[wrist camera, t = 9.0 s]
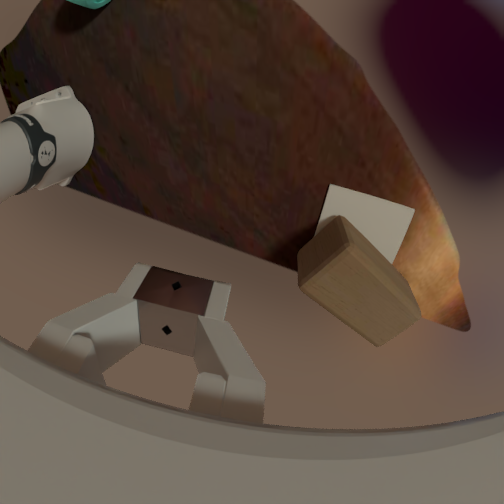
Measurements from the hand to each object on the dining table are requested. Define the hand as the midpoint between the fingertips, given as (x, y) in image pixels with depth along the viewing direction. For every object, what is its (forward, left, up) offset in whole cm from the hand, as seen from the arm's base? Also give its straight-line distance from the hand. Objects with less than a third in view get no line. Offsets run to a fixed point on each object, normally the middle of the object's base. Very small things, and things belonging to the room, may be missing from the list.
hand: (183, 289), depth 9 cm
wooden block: (+11, -13, -30) cm, 34 cm away
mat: (+19, -11, -35) cm, 41 cm away
